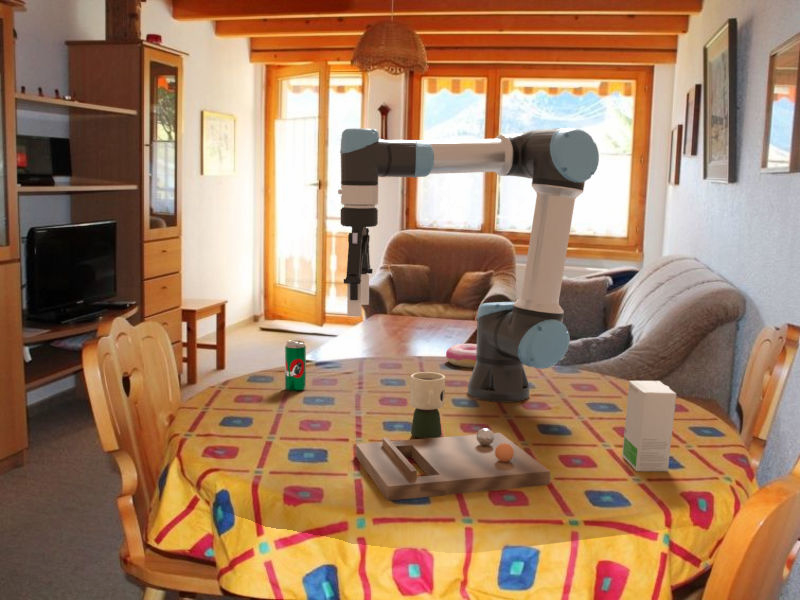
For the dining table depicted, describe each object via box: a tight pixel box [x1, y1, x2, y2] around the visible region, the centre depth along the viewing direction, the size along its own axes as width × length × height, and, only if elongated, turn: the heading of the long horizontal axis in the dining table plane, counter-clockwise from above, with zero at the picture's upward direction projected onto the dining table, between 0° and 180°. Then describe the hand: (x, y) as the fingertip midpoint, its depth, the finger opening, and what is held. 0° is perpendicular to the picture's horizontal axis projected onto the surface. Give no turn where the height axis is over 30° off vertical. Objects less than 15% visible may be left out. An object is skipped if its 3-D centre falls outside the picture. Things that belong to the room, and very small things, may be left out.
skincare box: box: [621, 380, 677, 472], centre depth 159 cm, size 8×7×16 cm
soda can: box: [284, 339, 307, 392], centre depth 206 cm, size 5×5×12 cm
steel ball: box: [476, 427, 494, 446], centre depth 161 cm, size 3×3×3 cm
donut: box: [445, 343, 477, 369], centre depth 238 cm, size 14×13×5 cm
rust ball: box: [495, 443, 514, 462], centre depth 153 cm, size 3×3×3 cm
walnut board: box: [355, 432, 551, 501], centre depth 155 cm, size 30×22×4 cm
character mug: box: [409, 371, 446, 439], centre depth 172 cm, size 11×7×13 cm, turn 7°
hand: (358, 310), depth 172 cm, fingers open, 13 cm apart
